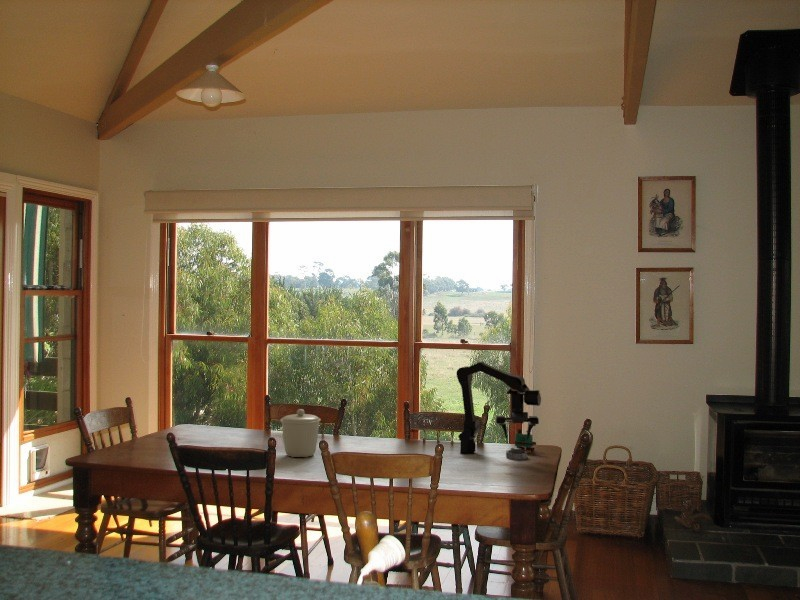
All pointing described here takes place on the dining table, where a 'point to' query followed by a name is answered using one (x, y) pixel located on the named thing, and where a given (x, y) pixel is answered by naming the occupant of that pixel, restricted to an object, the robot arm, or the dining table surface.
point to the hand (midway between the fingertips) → (517, 439)
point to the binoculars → (524, 441)
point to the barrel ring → (516, 455)
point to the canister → (300, 434)
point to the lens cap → (516, 450)
